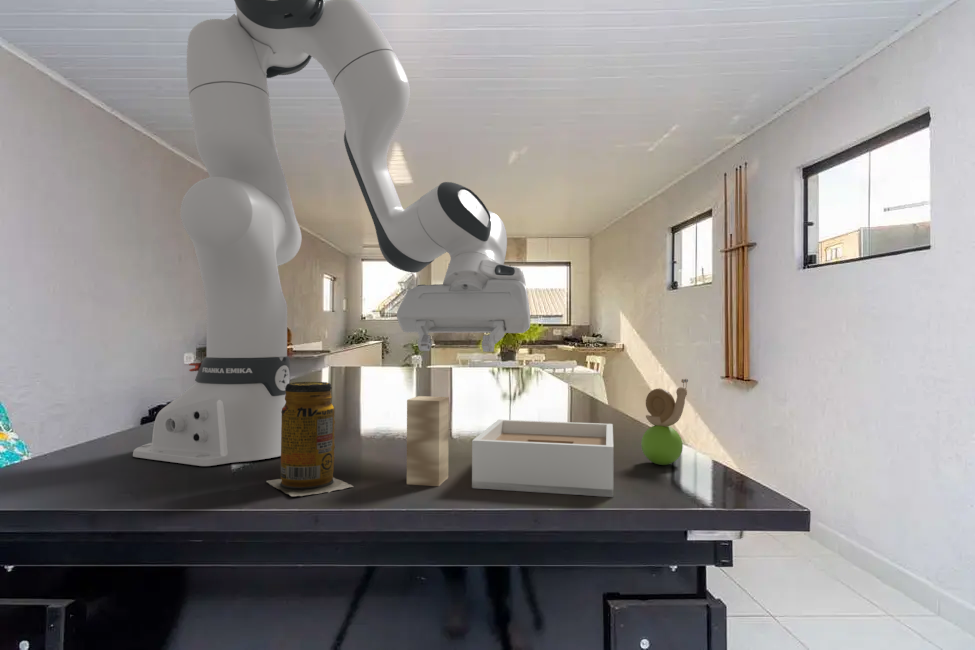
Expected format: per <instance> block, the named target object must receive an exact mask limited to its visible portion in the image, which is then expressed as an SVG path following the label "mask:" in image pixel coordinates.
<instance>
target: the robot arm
mask: <svg viewBox="0 0 975 650" xmlns="http://www.w3.org/2000/svg"><path fill="white" fill-rule="evenodd" d="M234 5H235V10H236V14H235V13H233V14H232V15H231V16H230V17H228V18H225V19H222V18H221V19H220V18H212V19H211V18H210V19H206V20H203V21H201V22H199V23H197V24H196V25H194V26H193V28H192V29H191V30H190V32H189V35H188V38H187V49H186V80H187V88H188V89H187V90H188V97H189V107H190V111H191V112H190V114H191V121H192V126H193V135H194V140H195V147H196V151H197V154H198V156H199V159H201V162H202V163H203V165H204V167H205V169H206V171H207V174H208V176H209V177H206V178H202V179H200V180H199V181H196V183H194V184H192V185H191V187H189V188H188V190H187V191H186V193H185V194H184V196H183V197H182V200H181V204H180V211H179V212H180V214H179V215H180V220H181V224H182V226H183V229H184V231H185V232H186V234H187V235H188V237H189V239H190V241H191V243H192V245H193V249H194V252H195V255H196V260H197V265H198V269H199V274H200V277H201V282H202V288H203V292H204V298H205V307H206V308H205V309H206V314H205V315H206V356H205V357H203V359H202V361H200V362H193V363H189V364H188V365H189V366H194V367H193V368H190V369H189V370H188V371H189V372H197V374H196V376H195V378H194V381H195V383H193V384H192V385H191V386H190V387H189V388H187V389H186V390H185V391H183V392H182V393H181V394H180V395H178V396H177V397H176V398H175V399H173V400H172V401H170V402H169V403H168V404H166V406H164V407H163V408H161V410H159V412H158V413H157V415H156V417H155V419H154V423H153V427H152V428H153V430H152V435H151V436H152V437H151V438H152V440H151V442H148V443H146V444H143V445H140V446H138V447H136V448H135V449H133V451H132V452H133V453H132V457H134V458H140V459H147V460H154V461H162V462H170V463H176V464H177V463H178V464H184V465H191V466H199V467H211V466H217V465H225V464H230V463H239V462H240V463H241V462H252V461H259V460H265V459H271V458H278V457H281V424H282V413H281V411H282V408H283V407H284V405H285V404H286V401H285V395H286V392H285V388H286V385H287V384H289V383H291V358H290V357H289V355H288V303H287V300H286V298H285V295H284V292H283V288H282V283H281V279H280V274H279V266H282V265H284V264H287V263H289V262H290V261H291V260H293V259H294V258H295V257H296V255H297V254H298V252H299V251H300V248H301V245H302V239H303V238H302V237H303V236H302V231H301V227H300V224H299V222H298V220H297V217H296V212H295V209H294V205H293V200H292V198H291V193H290V189H289V186H288V183H287V182H288V181H287V179H286V176H285V173H284V169H283V166H282V162H281V159H280V156H279V151H278V146H277V141H276V133H275V128H274V126H275V125H274V121H273V113H272V107H271V101H270V100H271V99H270V94H269V88H268V80H267V79H271V78H272V79H273V78H275V77H277V76H287V75H288V76H289V75H292V74H296V73H298V72H300V71H301V70H303V69H304V68H306V66H308V65H309V63H310V61H311V60H312V58H313V59H315V61H317V63H319V64H320V65H321V67H322V68H323V69H324V70H325V72H326V73H327V76H328V78H329V80H330V82H331V83H332V85H333V87H334V89H335V91H336V93H337V96H338V97H339V101H340V103H341V108H342V113H343V119H344V126H345V127H344V135H343V143H344V147H345V151H346V153H347V156H348V159H349V161H350V162H349V163H350V165H351V168H352V170H353V174H354V176H355V178H356V181H357V183H358V186H359V189H360V191H361V194H362V197H363V199H364V201H365V204H366V206H367V209H368V212H369V213H370V217H371V219H372V223H373V226H374V228H375V233H376V237H377V239H376V240H377V242H378V247H379V249H380V252H381V254H382V256H383V258H384V259H385V261H386V262H387V263H389V265H391V266H392V267H394V268H395V269H398V270H401V271H403V272H406V273H407V272H408V273H419V272H421V271H422V270H423V269H425V268H426V267H428V266H429V265H430V264H431V263H433V262H434V261H435V260H436V259H438V258H440V257H441V256H443V255H445V253H448V255H449V256H450V261H449V262H448V266H447V269H446V272H445V276H444V279H443V282H442V284H439V283H438V284H427V285H426V284H418V285H417V286H414V287H412V288H409V289H408V290H407V291H406V293H405V295H404V298H403V299H402V301H401V303H400V305H399V307H398V309H397V312H396V320H397V322H398V325H399V327H400V328H401V330H402V331H403V332H404V333H417V335H418V340H417V346H418V350H419V352H420V351H421V352H425V351H426V352H430V351H431V347H432V345H433V342H432V339H431V335H430V334H429V333H434V334H435V333H436V334H437V333H443V334H444V333H445V334H447V333H450V334H451V333H452V334H454V333H456V334H457V333H458V334H460V333H461V334H463V333H465V334H466V333H467V334H468V333H470V334H471V333H472V334H473V333H474V334H477V333H479V334H482V333H483V334H484V335H483V336H482V340H481V348H482V352H492V353H493V352H495V351H494V350H495V347H496V344H498V342H499V341H501V340H502V339H503V338H504V337H505V334H507V333H508V334H523V333H526V332H527V331H528V330H529V329H530V328H531V310H530V309H531V308H530V302H529V295H528V289H527V286H526V279H525V276H524V273H523V270H522V268H519V267H516V266H511V265H508V264H507V265H506V264H505V260H506V254H507V250H508V248H507V247H508V236H507V235H508V234H507V230H506V226H505V223H504V221H503V220H502V219H501V217H500V216H498V214H496V213H495V212H493V211H491V210H489V209H488V208H487V206H486V205H485V204H484V202H483V200H481V199H480V197H479V196H478V195H477V194H476V193H475V192H474V191H473V190H471V189H470V188H468V187H466V186H464V185H461V184H459V183H456V182H452V181H444V182H441V183H439V184H438V185H437V186H435V187H434V188H432V189H431V190H429V191H428V192H427V193H425V194H423V195H422V196H421V197H420V198H418V199H417V200H416V201H414V202H413V203H412V204H410V205H409V206H407V207H406V208H404V207H403V206H402V202H401V199H400V198H399V195H398V192H397V189H396V186H395V185H394V181H393V179H392V177H391V173H390V171H389V168H388V161H387V160H388V152H389V148H390V145H391V142H392V140H393V138H394V136H395V134H396V132H397V130H398V128H399V126H400V125H401V123H402V121H403V119H404V117H405V116H406V113H407V110H408V108H409V105H410V99H411V98H410V97H411V88H410V86H411V85H410V83H409V79H408V75H407V73H406V71H405V69H404V67H403V65H402V63H401V61H400V59H399V58H398V55H397V54H396V52H395V50H394V49H393V46H392V45H391V44H390V41H389V40H388V39H387V36H386V35H385V33H384V32H383V31H382V29H381V27H380V26H379V25H378V24H377V22H376V21H375V19H374V18H373V16H371V14H370V13H369V11H367V9H366V8H365V7H364V6H363V5H362V4H361V2H359V1H357V0H234ZM487 333H488V335H487ZM485 334H486V335H485Z"/></svg>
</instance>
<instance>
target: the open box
mask: <svg viewBox="0 0 975 650" xmlns="http://www.w3.org/2000/svg"><path fill="white" fill-rule="evenodd" d="M613 426H614V424H613V423H602V422H599V423H597V422H576V421H575V422H572V421H571V422H570V421H543V420H541V421H540V420H521V419H519V420H517V419H516V420H515V419H497V420H495V422H493V423H492V424H491V425H490V426H489V427H488V428H486V429H485V430H483V431H482V432H481V433H480V434H478V435H477V436H475V438H473V439H472V441H471V442H472V443H471V445H472V446H471V450H472V451H471V488H472V489H481V490H482V489H483V490H498V491H513V492H515V491H516V492H528V493H530V492H531V493H542V494H543V493H544V494H559V495H575V496H577V495H578V496H591V497H593V496H594V497H606V498H608V497H609V498H614V427H613Z"/></svg>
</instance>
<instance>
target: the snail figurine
mask: <svg viewBox="0 0 975 650" xmlns="http://www.w3.org/2000/svg"><path fill="white" fill-rule="evenodd" d="M680 381H681V383H682V386H679V387H678V388H677V389H676V391H675V393H676V399H675V398H674V396H673V395H672V394H671V393H670V392H669V391H668V390H667V389H663V388H655V389H652V390H651V391H650V392H648V394H647V395H646V399H645V408H646V410H647V412H648V413H649V414H650V415H649V414H646V415H645V418H646V421H648V422H649V423H650V425H652V426H650V427H649V428H648V429H646V430H645V432H644V433H643V435H642V438H641V443H640V444H641V445H640V446H641V451H642V453H643V455H644V456H645V458H647V460H648V461H650V462H652V463H654V464H655V465H660V466H668V465H671V464H673V463H674V462H676V461H677V460H678V459H679V458H680V456H681V454H682V453H683V440H682V437H681V436H680V434H679V433H678V431H677V430H676V429H675V428H673V427H671V426H673V425H675V424H676V423H678V421H680V419H681V417H682V414H683V411H684V407H685V402H686V397H687V396H688V390H687V387H685V386H687V384H688V382H689V380H688V379H687V378H682V379H681V380H680Z"/></svg>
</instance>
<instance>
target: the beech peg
mask: <svg viewBox="0 0 975 650" xmlns="http://www.w3.org/2000/svg"><path fill="white" fill-rule="evenodd" d="M449 398H450V397H449V396H429V395H428V396H424V395H418V396H415V397H411V398H409V399H407V400H406V485H411V486H426V487H427V486H430V487H440V486H441V485H442V484H443V483H444V482H445V481H446V480H448V479H449V431H450V430H449V424H450V423H449V422H450V421H449V420H450V419H449V415H450V412H449V411H450V409H449V408H450V406H449V405H450V404H449V403H450V402H449V401H450V399H449Z"/></svg>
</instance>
